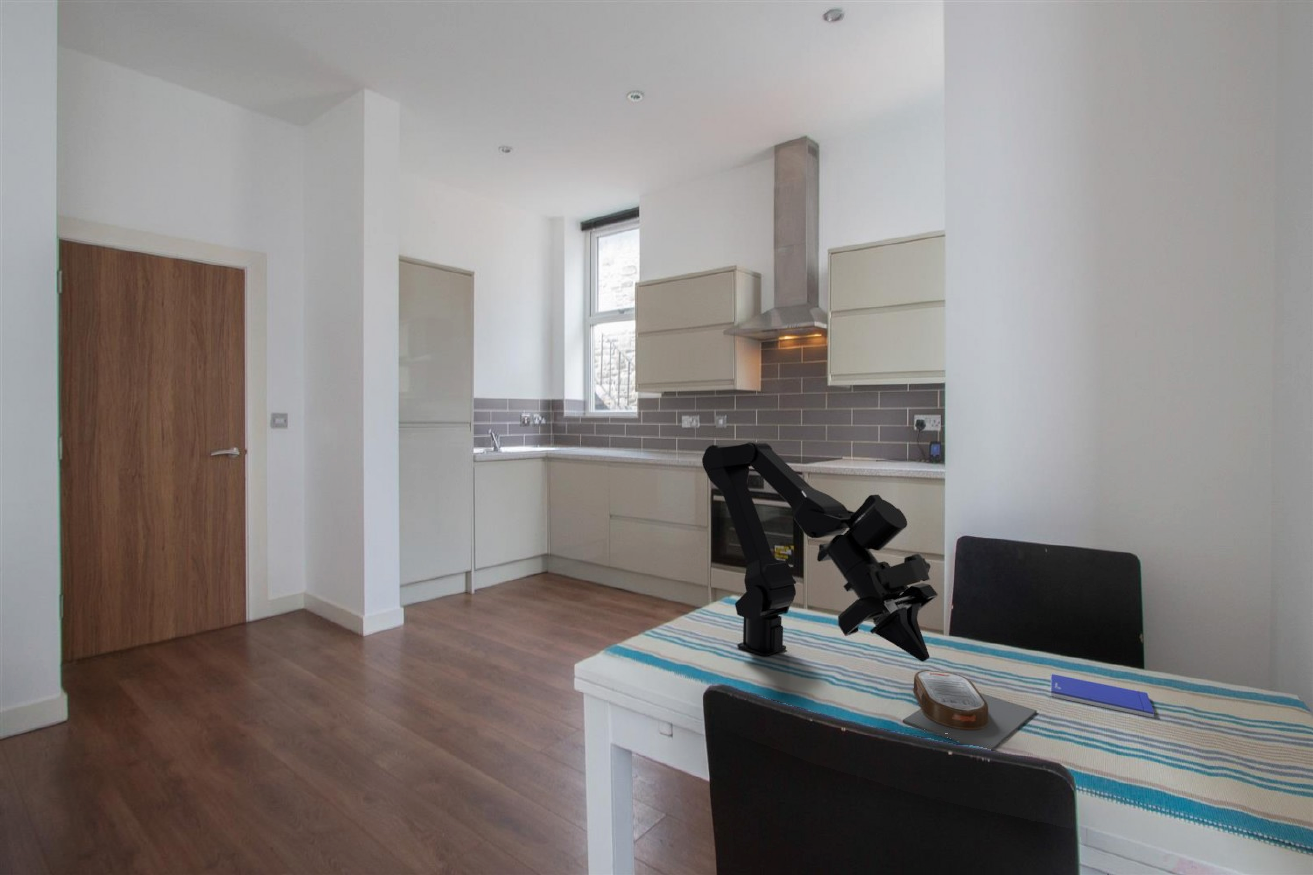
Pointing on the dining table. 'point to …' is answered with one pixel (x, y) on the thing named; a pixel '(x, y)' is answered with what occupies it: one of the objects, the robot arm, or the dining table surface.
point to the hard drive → (1101, 695)
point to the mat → (1000, 726)
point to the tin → (950, 700)
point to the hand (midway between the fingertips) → (926, 659)
